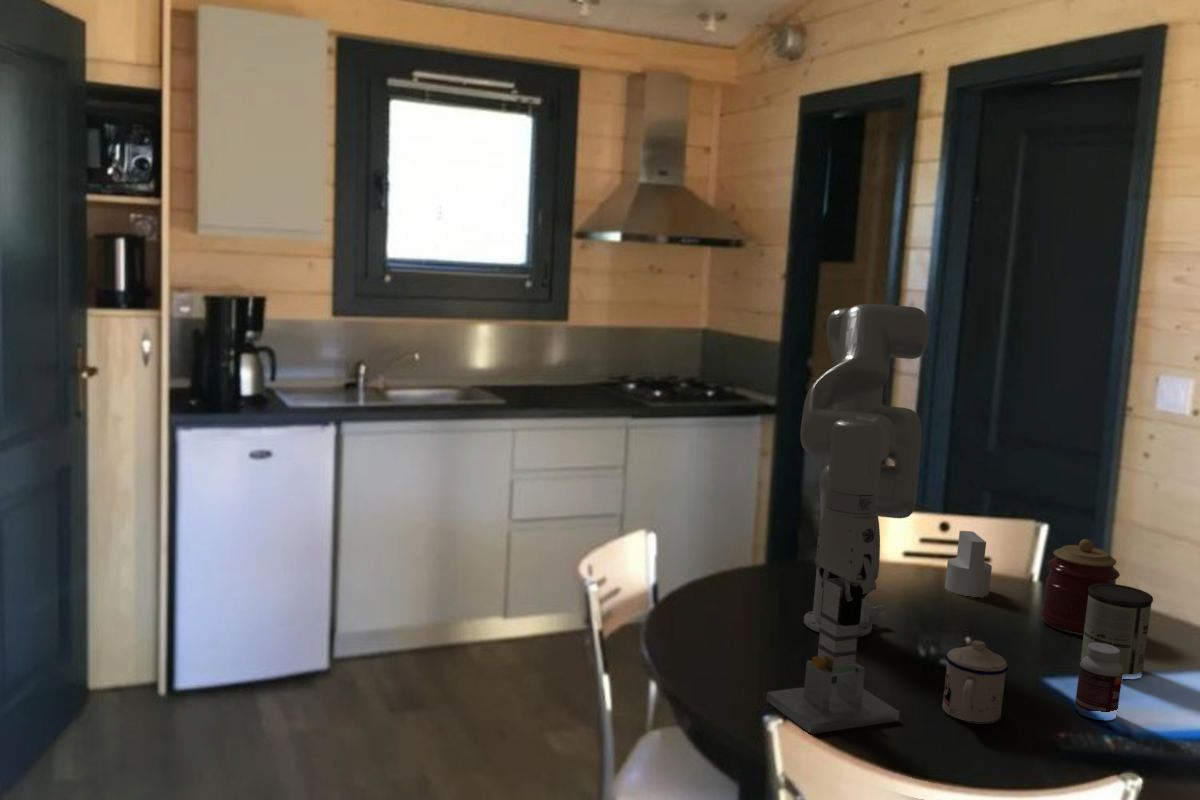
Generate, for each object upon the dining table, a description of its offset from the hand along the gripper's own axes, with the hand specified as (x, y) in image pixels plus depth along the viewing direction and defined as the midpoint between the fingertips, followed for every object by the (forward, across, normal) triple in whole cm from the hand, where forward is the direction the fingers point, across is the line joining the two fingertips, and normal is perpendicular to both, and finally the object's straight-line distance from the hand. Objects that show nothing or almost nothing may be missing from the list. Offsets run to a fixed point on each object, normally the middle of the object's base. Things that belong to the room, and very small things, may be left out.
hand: (840, 618), depth 167 cm
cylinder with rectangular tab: (+15, +44, -66) cm, 81 cm away
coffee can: (+15, +1, -60) cm, 62 cm away
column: (+8, 0, 0) cm, 8 cm away
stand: (+15, 0, 0) cm, 15 cm away
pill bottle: (+15, -13, -41) cm, 46 cm away
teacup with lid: (+15, -8, -20) cm, 26 cm away
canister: (+15, +20, -72) cm, 76 cm away
